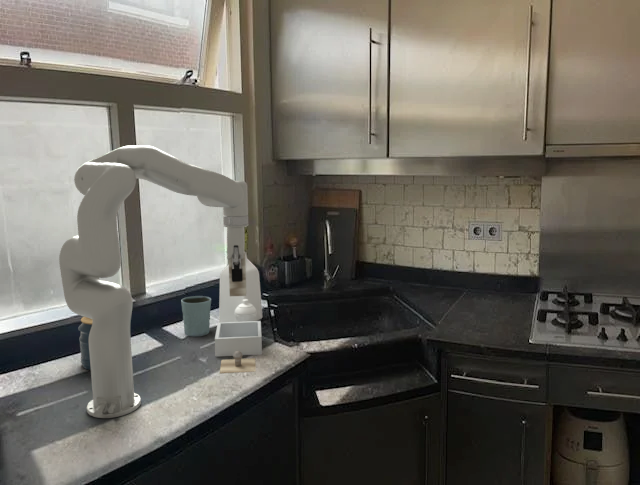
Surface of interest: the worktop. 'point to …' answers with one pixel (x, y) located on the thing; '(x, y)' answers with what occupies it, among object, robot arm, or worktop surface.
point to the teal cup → (196, 315)
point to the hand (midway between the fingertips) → (237, 278)
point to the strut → (238, 287)
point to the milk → (231, 302)
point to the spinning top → (245, 312)
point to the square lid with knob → (238, 364)
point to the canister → (85, 341)
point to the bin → (238, 338)
